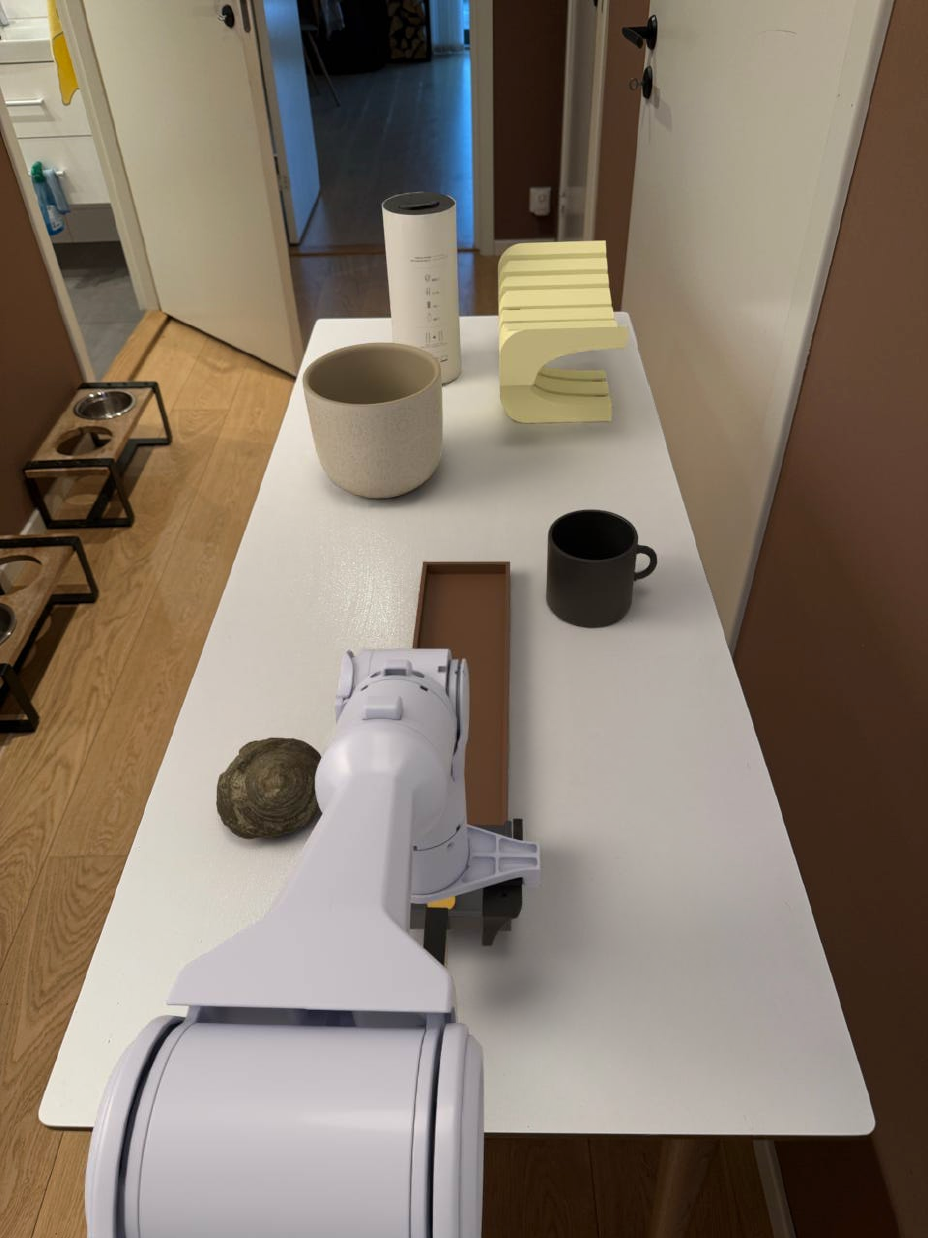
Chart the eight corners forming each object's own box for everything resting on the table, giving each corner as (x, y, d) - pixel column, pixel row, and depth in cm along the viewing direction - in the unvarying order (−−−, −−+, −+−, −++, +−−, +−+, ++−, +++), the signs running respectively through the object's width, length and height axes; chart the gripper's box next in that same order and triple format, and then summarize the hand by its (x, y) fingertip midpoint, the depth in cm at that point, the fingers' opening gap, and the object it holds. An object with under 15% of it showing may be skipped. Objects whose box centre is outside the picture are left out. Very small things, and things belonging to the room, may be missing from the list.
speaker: (460, 356, 149) (453, 185, 132) (465, 386, 141) (458, 208, 124) (395, 360, 149) (379, 189, 132) (396, 391, 141) (379, 213, 124)
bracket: (522, 872, 77) (522, 842, 74) (372, 869, 78) (367, 840, 75) (522, 848, 79) (522, 818, 76) (375, 845, 79) (370, 816, 77)
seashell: (186, 839, 73) (311, 831, 73) (189, 693, 77) (310, 686, 76) (226, 844, 84) (335, 837, 84) (228, 716, 87) (333, 710, 87)
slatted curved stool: (499, 356, 149) (497, 243, 137) (598, 353, 148) (605, 240, 136) (500, 454, 126) (499, 329, 115) (617, 452, 126) (628, 326, 114)
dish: (510, 1000, 66) (510, 974, 63) (360, 996, 66) (354, 970, 64) (511, 829, 77) (511, 801, 74) (382, 827, 77) (378, 799, 75)
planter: (407, 527, 114) (396, 417, 104) (294, 496, 121) (274, 389, 110) (469, 460, 125) (465, 355, 115) (363, 434, 132) (350, 333, 122)
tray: (507, 865, 78) (507, 851, 76) (388, 862, 78) (386, 849, 77) (510, 574, 107) (510, 561, 105) (424, 574, 107) (422, 561, 106)
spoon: (454, 915, 70) (454, 913, 70) (426, 915, 70) (425, 912, 70) (458, 854, 74) (458, 851, 74) (431, 853, 75) (430, 850, 74)
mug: (663, 622, 99) (673, 556, 93) (553, 632, 99) (555, 565, 93) (643, 568, 107) (651, 503, 101) (540, 577, 106) (541, 512, 100)
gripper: (540, 758, 57) (537, 882, 66) (307, 756, 58) (335, 878, 67) (542, 856, 51) (538, 976, 60) (286, 852, 52) (319, 971, 61)
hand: (431, 931), depth 63 cm, fingers open, 7 cm apart
